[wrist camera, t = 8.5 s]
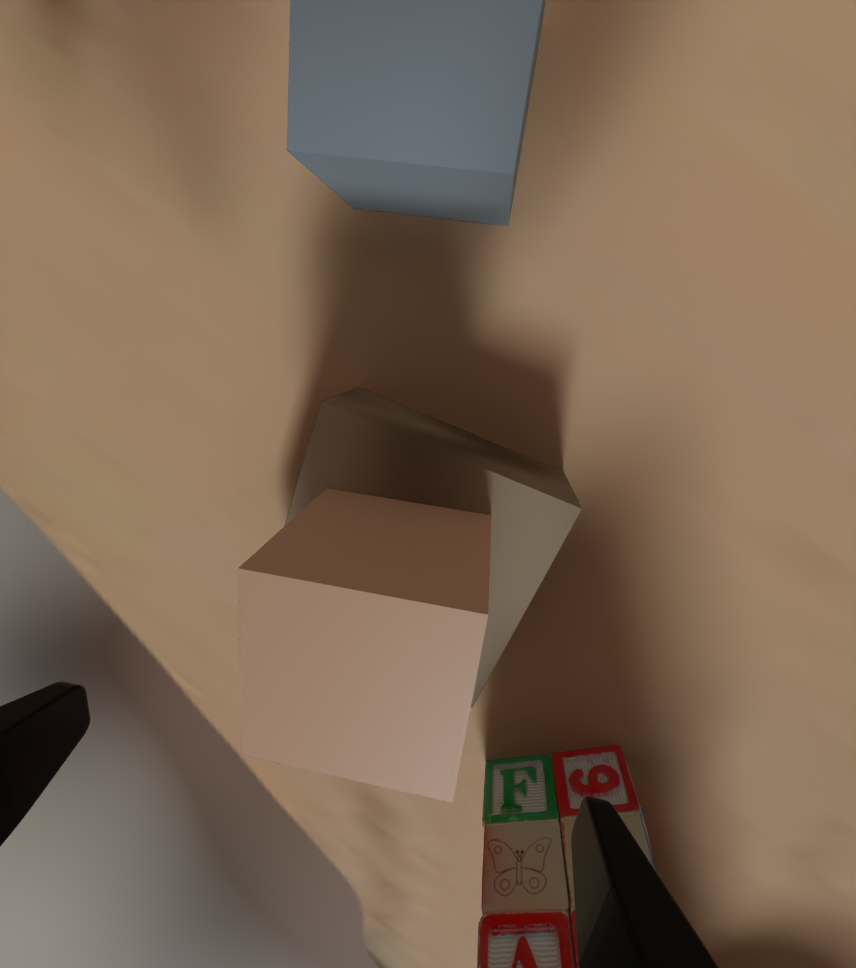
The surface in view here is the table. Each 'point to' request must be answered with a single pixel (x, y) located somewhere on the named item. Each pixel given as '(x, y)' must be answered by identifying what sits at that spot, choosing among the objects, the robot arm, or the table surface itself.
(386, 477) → the taupe faceted block
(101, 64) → the table surface
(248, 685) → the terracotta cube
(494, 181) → the slate cube
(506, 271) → the table surface
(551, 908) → the stack of blocks
